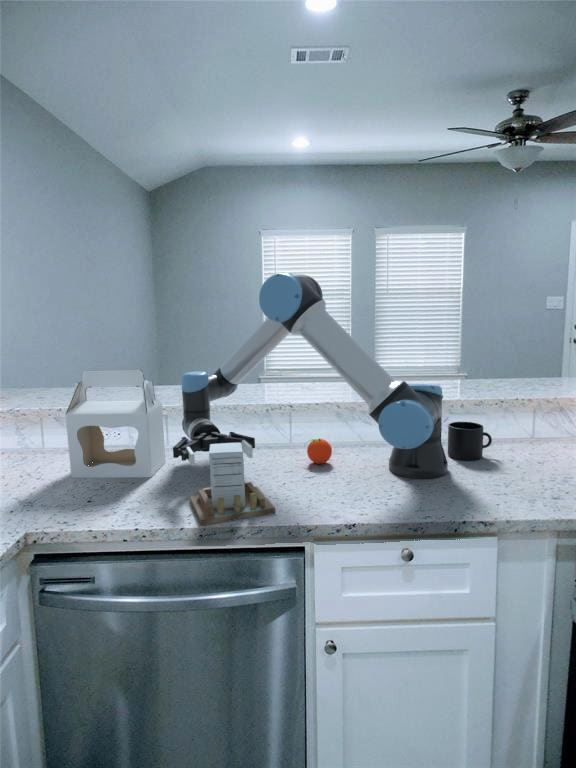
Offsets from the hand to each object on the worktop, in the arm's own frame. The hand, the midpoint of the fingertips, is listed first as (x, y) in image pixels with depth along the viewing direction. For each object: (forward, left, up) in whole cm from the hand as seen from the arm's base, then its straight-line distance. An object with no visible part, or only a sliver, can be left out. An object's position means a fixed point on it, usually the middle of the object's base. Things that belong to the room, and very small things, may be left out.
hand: (222, 456), depth 117 cm
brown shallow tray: (0, +6, -10) cm, 12 cm away
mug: (-72, -3, -10) cm, 73 cm away
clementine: (-30, -15, -10) cm, 35 cm away
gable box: (+22, -32, -10) cm, 40 cm away
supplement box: (0, +6, -9) cm, 11 cm away
